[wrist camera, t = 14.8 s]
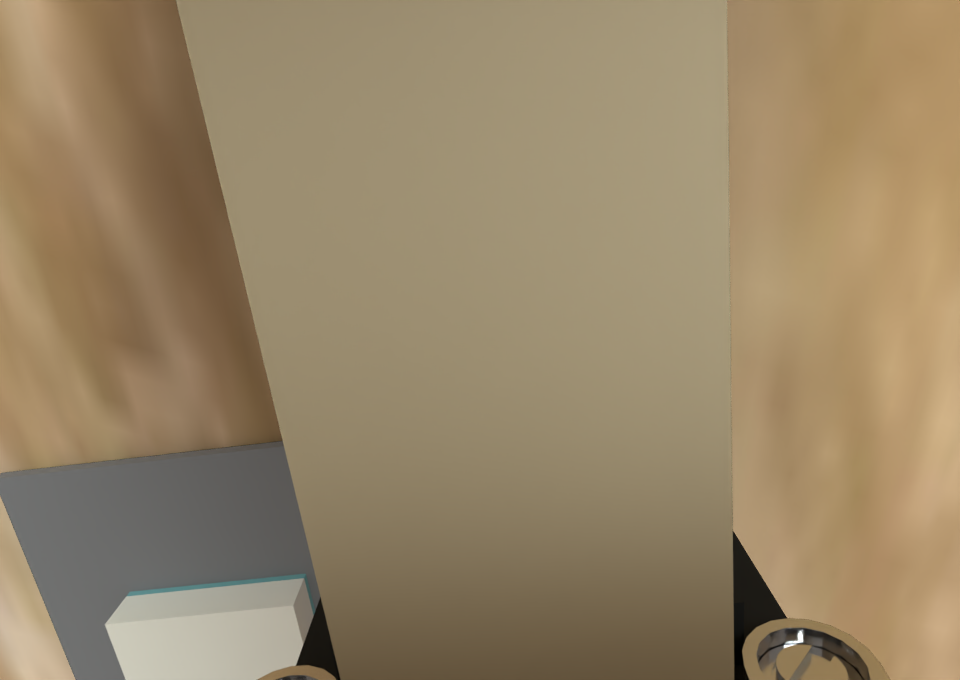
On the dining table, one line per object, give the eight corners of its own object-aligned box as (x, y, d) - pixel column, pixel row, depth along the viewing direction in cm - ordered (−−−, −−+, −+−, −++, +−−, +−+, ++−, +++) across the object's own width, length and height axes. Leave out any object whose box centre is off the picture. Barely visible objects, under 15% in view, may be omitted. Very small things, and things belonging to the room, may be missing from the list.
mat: (2, 473, 28) (-7, 478, 27) (372, 430, 27) (370, 436, 26) (126, 782, 33) (121, 791, 33) (436, 754, 32) (435, 764, 32)
